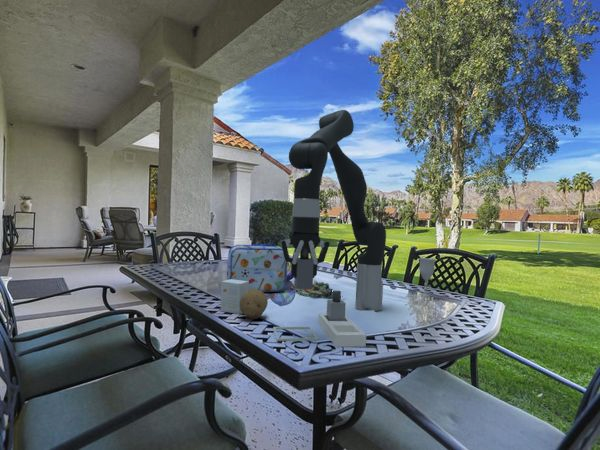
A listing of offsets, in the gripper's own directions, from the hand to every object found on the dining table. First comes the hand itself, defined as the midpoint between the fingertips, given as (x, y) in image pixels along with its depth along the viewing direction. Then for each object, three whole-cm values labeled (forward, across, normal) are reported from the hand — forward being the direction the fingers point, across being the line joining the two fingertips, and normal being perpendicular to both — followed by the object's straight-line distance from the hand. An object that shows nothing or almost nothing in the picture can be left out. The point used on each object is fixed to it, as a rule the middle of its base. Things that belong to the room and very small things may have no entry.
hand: (303, 277), depth 95 cm
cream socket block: (+17, -11, 0) cm, 20 cm away
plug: (+3, 0, 0) cm, 3 cm away
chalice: (+18, -64, -48) cm, 82 cm away
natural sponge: (+17, +13, -17) cm, 28 cm away
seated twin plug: (+16, -11, -5) cm, 20 cm away
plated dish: (+18, -15, -61) cm, 66 cm away
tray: (+17, +2, 0) cm, 17 cm away
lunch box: (+17, +10, -61) cm, 64 cm away
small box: (+17, +19, -28) cm, 38 cm away
